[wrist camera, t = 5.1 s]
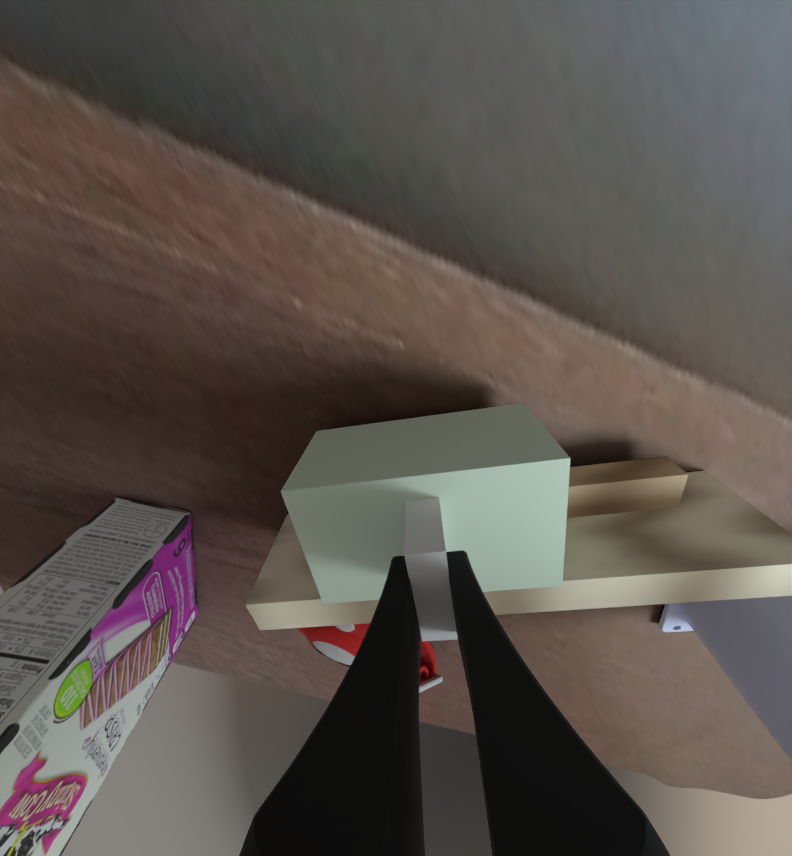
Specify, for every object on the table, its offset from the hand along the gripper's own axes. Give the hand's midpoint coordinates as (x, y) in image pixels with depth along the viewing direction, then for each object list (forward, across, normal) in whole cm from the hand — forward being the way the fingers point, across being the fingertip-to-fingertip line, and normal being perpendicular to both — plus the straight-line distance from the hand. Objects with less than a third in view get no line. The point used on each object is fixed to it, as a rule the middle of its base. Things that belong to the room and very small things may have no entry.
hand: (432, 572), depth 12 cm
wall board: (+8, -3, +4) cm, 9 cm away
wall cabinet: (+6, 0, 0) cm, 6 cm away
